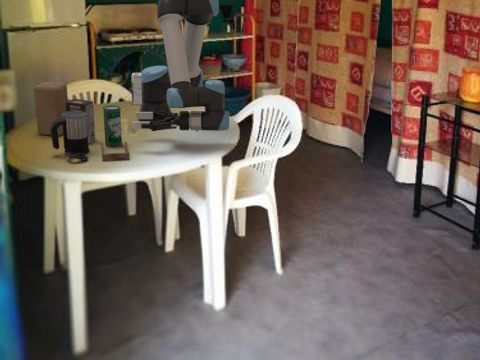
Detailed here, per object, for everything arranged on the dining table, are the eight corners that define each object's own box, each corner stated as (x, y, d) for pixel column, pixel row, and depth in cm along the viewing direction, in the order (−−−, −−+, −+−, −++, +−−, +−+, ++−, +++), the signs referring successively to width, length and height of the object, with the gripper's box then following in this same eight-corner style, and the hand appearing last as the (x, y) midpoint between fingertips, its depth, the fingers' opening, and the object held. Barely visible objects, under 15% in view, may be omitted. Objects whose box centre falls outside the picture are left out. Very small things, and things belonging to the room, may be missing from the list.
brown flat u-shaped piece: (126, 148, 237) (126, 141, 236) (129, 159, 225) (129, 153, 224) (101, 149, 235) (101, 143, 234) (102, 161, 223) (102, 154, 222)
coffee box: (67, 141, 243) (64, 101, 237) (76, 137, 248) (73, 98, 242) (87, 144, 240) (84, 104, 234) (96, 139, 246) (93, 100, 240)
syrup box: (132, 101, 303) (131, 72, 298) (144, 101, 304) (144, 72, 298) (131, 104, 298) (130, 75, 293) (144, 104, 298) (143, 75, 293)
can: (114, 148, 236) (112, 110, 231) (102, 145, 239) (100, 107, 234) (124, 144, 241) (123, 107, 236) (113, 141, 244) (111, 104, 239)
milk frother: (79, 146, 238) (76, 109, 232) (106, 155, 229) (104, 116, 223) (48, 155, 227) (45, 116, 222) (76, 165, 218) (73, 125, 213)
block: (59, 136, 248) (55, 88, 240) (37, 134, 250) (32, 86, 242) (71, 130, 257) (67, 82, 250) (49, 128, 259) (44, 81, 251)
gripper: (188, 139, 228) (131, 139, 227) (190, 121, 252) (138, 120, 250) (188, 120, 226) (130, 119, 224) (190, 103, 249) (137, 102, 248)
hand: (134, 120), depth 237 cm, fingers open, 13 cm apart
